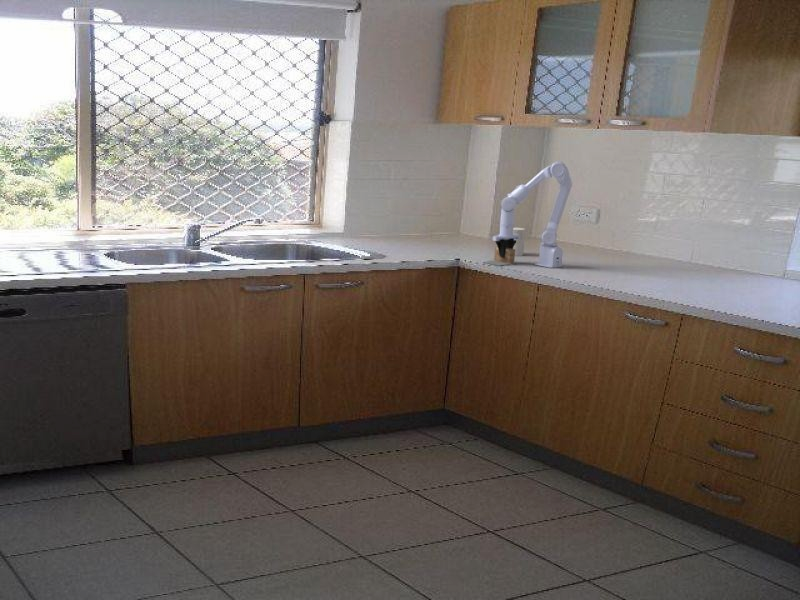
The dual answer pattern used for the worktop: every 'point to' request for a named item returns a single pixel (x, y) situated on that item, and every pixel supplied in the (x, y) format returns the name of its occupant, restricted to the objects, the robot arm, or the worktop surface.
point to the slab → (507, 258)
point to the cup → (519, 241)
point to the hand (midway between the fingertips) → (504, 256)
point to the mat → (497, 263)
